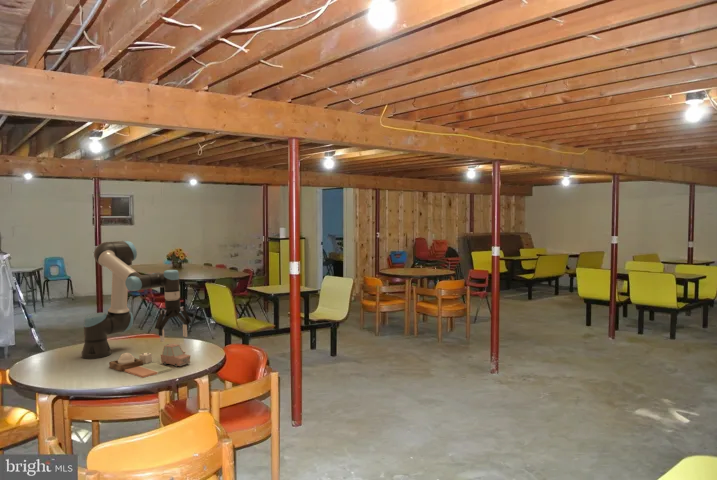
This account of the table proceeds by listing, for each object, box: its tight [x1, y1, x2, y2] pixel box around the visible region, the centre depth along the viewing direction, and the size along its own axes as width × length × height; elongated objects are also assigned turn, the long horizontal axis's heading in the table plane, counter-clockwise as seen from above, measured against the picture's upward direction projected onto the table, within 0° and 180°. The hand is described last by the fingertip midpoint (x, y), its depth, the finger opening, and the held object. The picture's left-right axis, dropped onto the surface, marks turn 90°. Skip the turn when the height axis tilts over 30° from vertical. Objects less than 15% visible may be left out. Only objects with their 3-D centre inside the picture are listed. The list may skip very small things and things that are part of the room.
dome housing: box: [108, 357, 144, 372], centre depth 285 cm, size 12×12×3 cm
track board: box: [124, 362, 173, 378], centre depth 277 cm, size 17×16×1 cm
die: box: [138, 352, 153, 365], centre depth 293 cm, size 4×4×5 cm
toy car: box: [160, 343, 192, 368], centre depth 288 cm, size 9×15×10 cm, turn 60°
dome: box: [117, 352, 135, 365], centre depth 284 cm, size 8×8×7 cm
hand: (174, 339), depth 288 cm, fingers open, 13 cm apart
